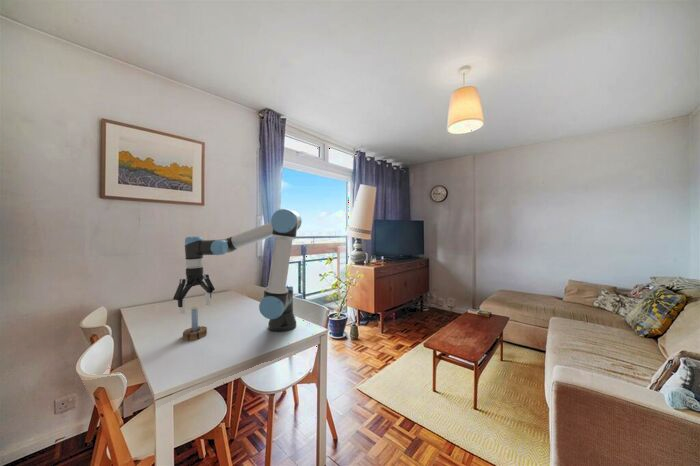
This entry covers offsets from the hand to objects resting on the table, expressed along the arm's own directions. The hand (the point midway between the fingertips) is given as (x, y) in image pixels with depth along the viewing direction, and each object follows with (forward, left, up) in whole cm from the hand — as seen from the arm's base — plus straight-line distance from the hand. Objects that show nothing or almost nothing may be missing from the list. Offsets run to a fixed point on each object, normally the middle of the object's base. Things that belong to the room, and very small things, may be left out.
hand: (195, 309), depth 125 cm
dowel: (0, 0, -14) cm, 14 cm away
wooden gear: (0, 0, -14) cm, 14 cm away
